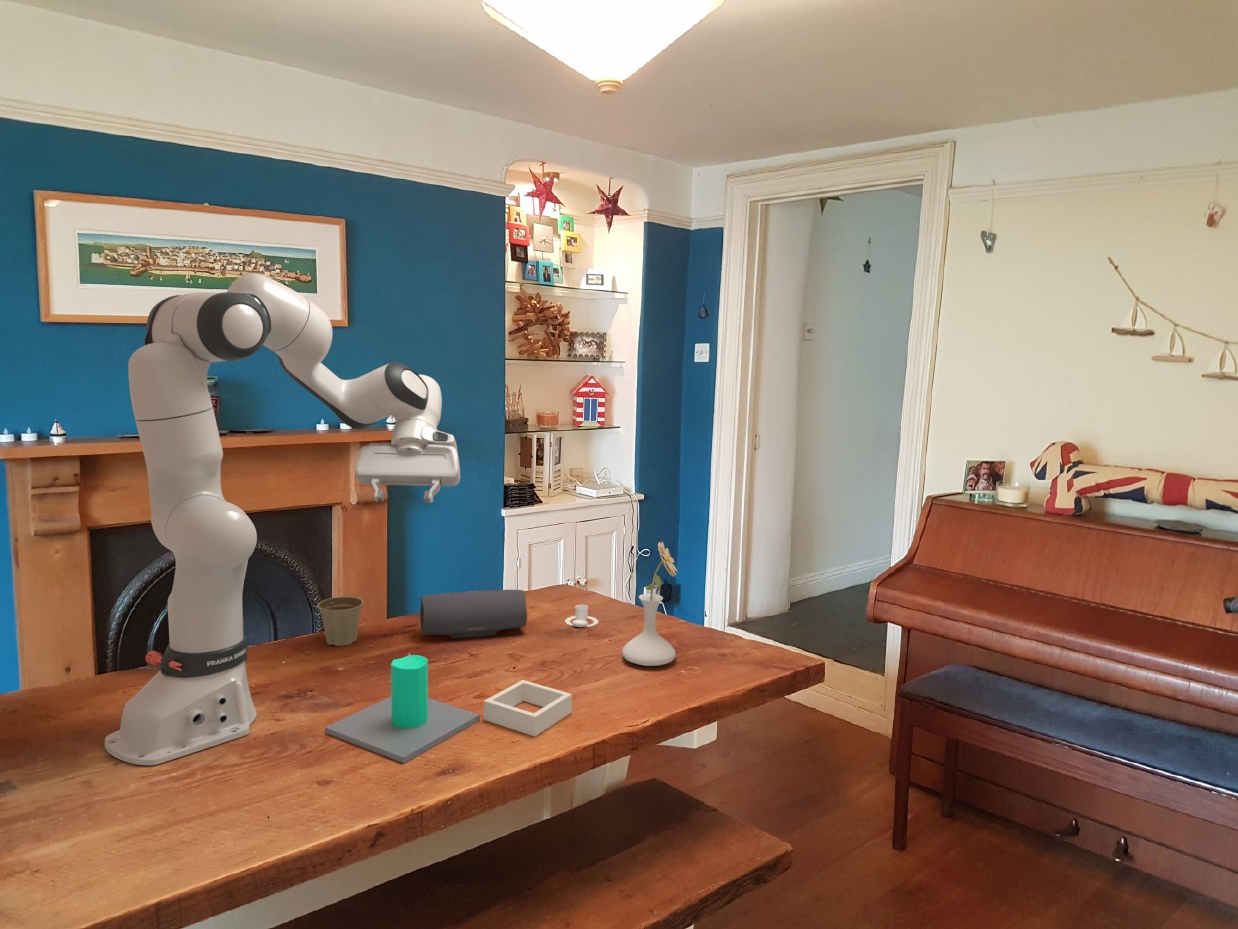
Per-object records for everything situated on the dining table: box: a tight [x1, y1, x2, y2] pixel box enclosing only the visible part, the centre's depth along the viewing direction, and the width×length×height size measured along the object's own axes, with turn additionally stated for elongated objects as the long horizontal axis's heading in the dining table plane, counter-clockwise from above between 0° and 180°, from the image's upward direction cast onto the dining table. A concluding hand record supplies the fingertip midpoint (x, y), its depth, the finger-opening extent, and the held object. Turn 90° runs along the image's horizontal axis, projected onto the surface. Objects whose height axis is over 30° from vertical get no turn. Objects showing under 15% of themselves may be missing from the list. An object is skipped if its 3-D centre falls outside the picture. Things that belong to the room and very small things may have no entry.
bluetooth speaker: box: [419, 589, 528, 639], centre depth 183 cm, size 23×9×10 cm, turn 108°
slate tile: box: [324, 696, 481, 764], centre depth 139 cm, size 18×18×1 cm
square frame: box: [483, 679, 573, 737], centre depth 144 cm, size 11×11×4 cm
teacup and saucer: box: [564, 604, 599, 628], centre depth 194 cm, size 9×8×4 cm
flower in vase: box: [621, 541, 678, 667], centre depth 171 cm, size 13×11×25 cm
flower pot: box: [317, 596, 364, 647], centre depth 176 cm, size 9×9×9 cm
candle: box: [390, 652, 429, 728], centre depth 138 cm, size 6×6×12 cm
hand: (403, 500), depth 158 cm, fingers open, 8 cm apart
